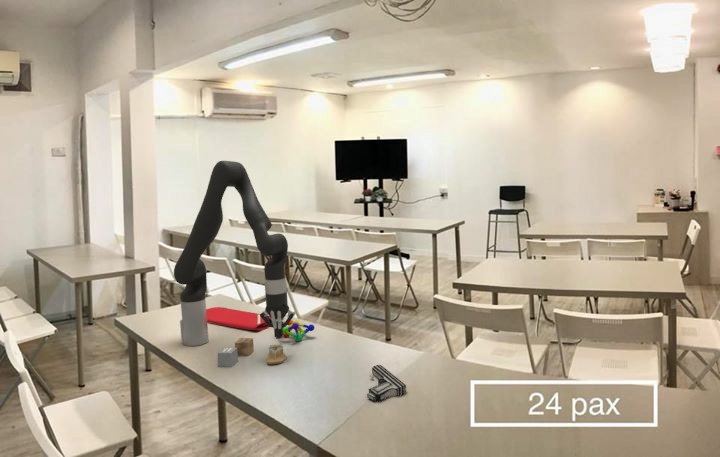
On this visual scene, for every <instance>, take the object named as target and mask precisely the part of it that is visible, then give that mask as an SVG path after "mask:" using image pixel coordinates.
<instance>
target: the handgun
mask: <svg viewBox="0 0 720 457" xmlns="http://www.w3.org/2000/svg"><path fill="white" fill-rule="evenodd" d="M371 371H372V372H371V373H370V374H369V377H371V378H372V379H374V378H376V379H377V385H376V386H373V387H370V388H368V393H367V394H366V395H367V396H366V398H368V399H370V400H372V401H375V400H376V401H375V402H377V401H378V402H377V403H380V402H379V401H381V402H382V400H383V401H384V399H385V398H386V399H388V398H390V397H397V396H398V397H401V396H403V395H405V394H406V393H407V385H406V384H405V383H404V382H403V381H401V380H400V379H399V378H398V377H397V376H395V375H394V374H393V373H391V372H390V371H389V370H388V369H387V368H385V367H384V366H383V365H382V364H376V365H374V366H372V367H371ZM372 374H373V375H372ZM405 392H406V393H405ZM402 394H403V395H402ZM400 395H401V396H400ZM389 396H390V397H389ZM387 397H388V398H387ZM386 399H385V400H386Z"/></svg>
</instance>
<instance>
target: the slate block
mask: <svg viewBox="0 0 720 457" xmlns="http://www.w3.org/2000/svg"><path fill="white" fill-rule="evenodd" d="M238 362H239V356H238V354H237V348H235V347H222V349H220V350H219V351H218V352H217V365H218V367H220V368H221V367H225V368H233V367H234V366H235V365H236V364H237V363H238Z"/></svg>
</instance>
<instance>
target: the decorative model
mask: <svg viewBox="0 0 720 457" xmlns="http://www.w3.org/2000/svg"><path fill="white" fill-rule="evenodd" d="M283 323H285V321H283ZM301 327H302V328H301ZM304 328H305V329H304ZM292 330H294V332H295V333H292ZM314 330H315V325H314V324H311V323H310V324H309V325H307V324H304V323H300V322H299V320H295V319H294V320H293V319H291V321H290V322H289V324H288V325H287V326H286V327H283V336H282V337H283V338H289V337H293V338H294V339H295V341H296V342H300V341H302V337H304V336H305V335H307V333H309V332H313V331H314Z"/></svg>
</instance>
